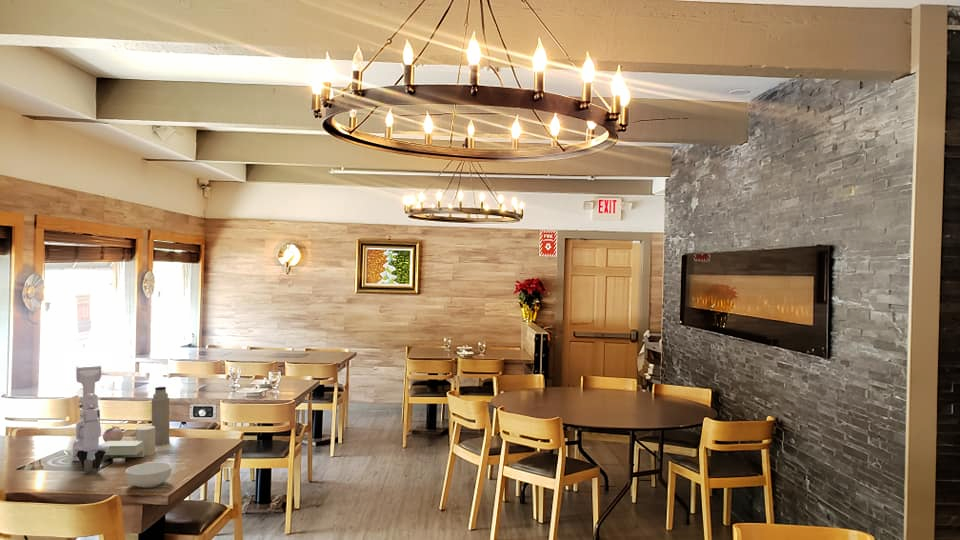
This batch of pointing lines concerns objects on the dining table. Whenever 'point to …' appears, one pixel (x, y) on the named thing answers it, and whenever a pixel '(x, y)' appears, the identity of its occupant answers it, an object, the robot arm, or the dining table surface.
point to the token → (118, 460)
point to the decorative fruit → (113, 434)
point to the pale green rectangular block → (124, 449)
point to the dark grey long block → (92, 465)
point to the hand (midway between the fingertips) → (91, 468)
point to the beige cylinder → (146, 438)
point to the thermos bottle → (160, 415)
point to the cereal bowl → (148, 474)
